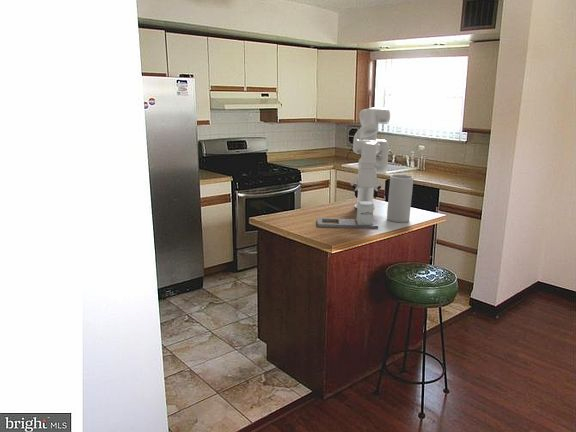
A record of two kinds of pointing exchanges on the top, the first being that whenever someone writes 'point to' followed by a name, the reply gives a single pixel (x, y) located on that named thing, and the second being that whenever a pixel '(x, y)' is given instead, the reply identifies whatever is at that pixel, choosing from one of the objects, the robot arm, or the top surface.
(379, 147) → the robot arm
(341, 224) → the grey flat plate
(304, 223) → the top surface
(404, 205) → the cylinder vase
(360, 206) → the supplement box
